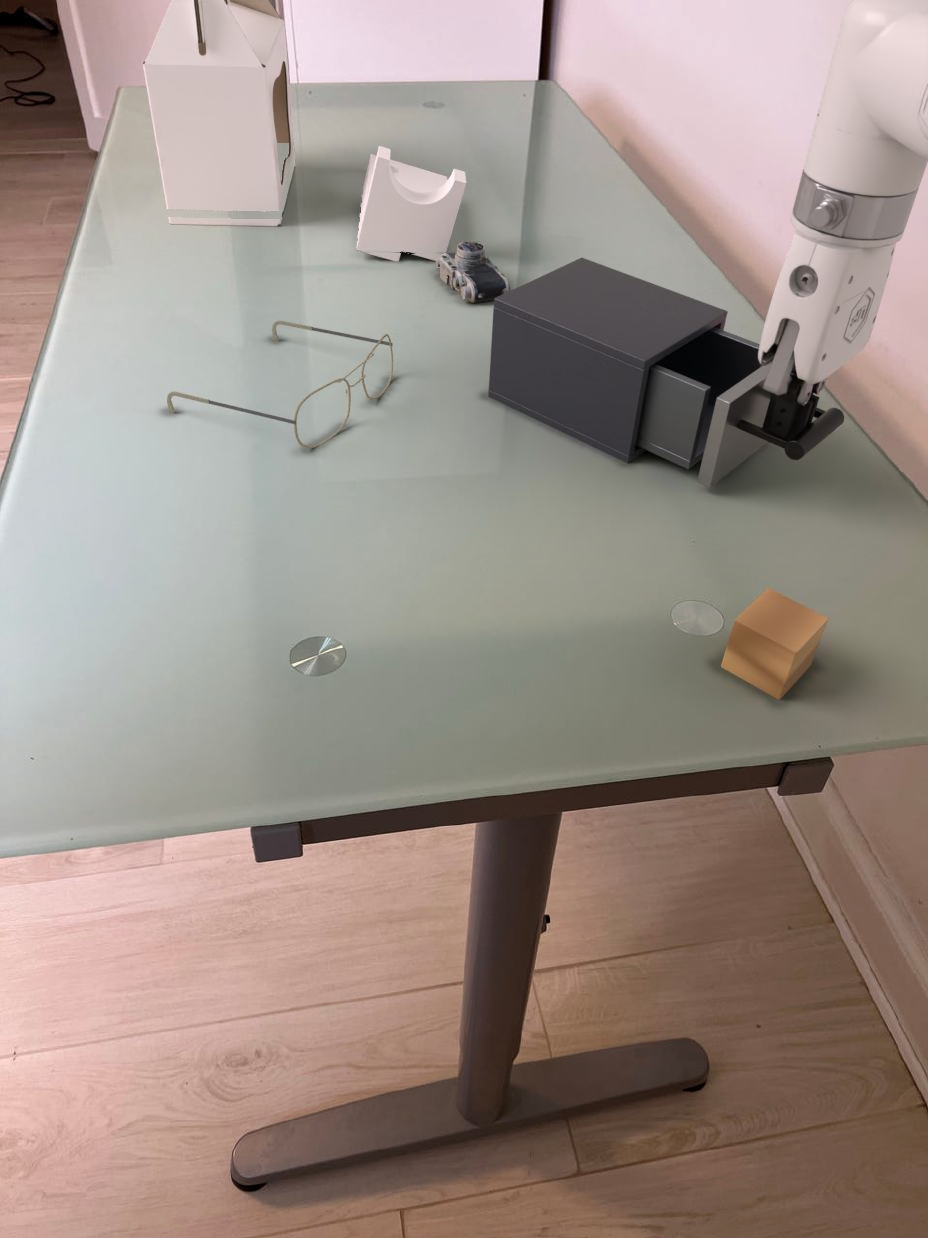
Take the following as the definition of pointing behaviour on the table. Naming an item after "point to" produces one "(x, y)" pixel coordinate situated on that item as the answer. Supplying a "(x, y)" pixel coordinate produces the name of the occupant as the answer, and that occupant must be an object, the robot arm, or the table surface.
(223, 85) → the gable box
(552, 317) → the cabinet
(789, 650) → the block
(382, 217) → the white notched cradle
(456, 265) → the camera
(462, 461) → the table surface
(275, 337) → the eyeglasses
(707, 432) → the pull-out drawer
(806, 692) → the table surface
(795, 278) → the robot arm
